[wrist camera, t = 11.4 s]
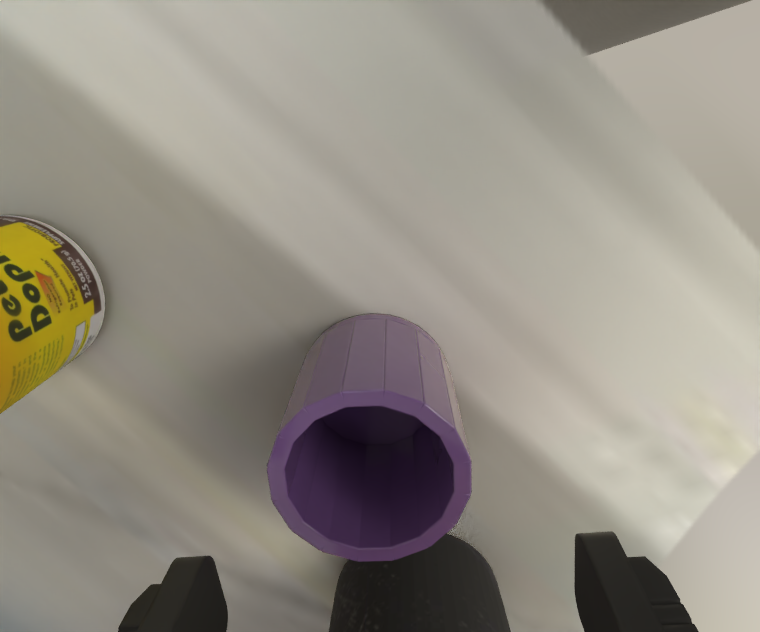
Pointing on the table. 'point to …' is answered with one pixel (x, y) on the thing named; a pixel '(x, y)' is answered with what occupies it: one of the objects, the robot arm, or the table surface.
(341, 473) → the cup
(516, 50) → the table surface
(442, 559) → the travel mug
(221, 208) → the table surface
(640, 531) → the table surface
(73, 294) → the supplement bottle
